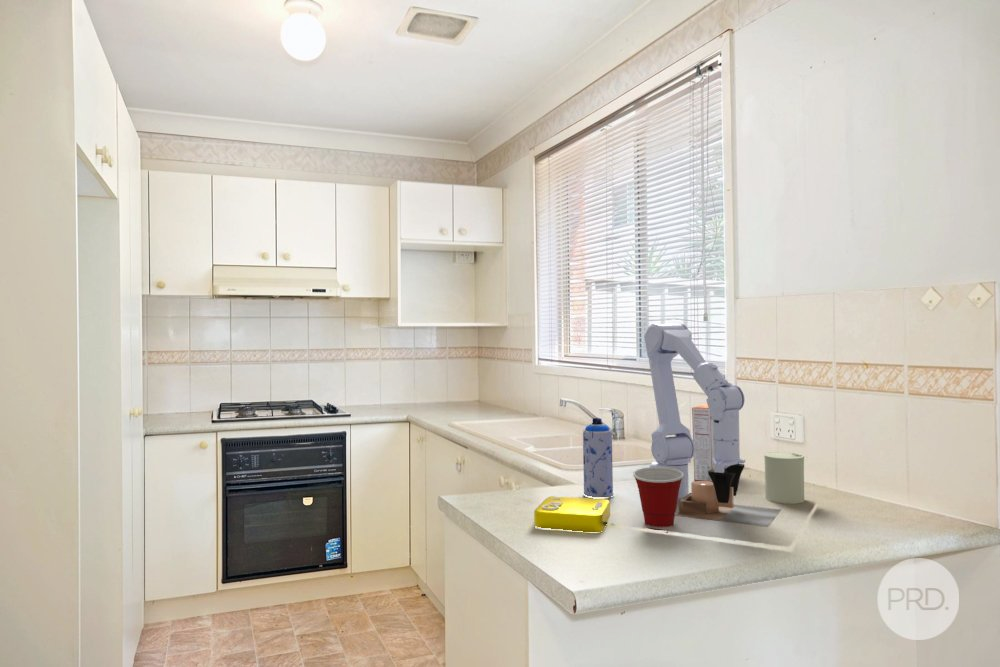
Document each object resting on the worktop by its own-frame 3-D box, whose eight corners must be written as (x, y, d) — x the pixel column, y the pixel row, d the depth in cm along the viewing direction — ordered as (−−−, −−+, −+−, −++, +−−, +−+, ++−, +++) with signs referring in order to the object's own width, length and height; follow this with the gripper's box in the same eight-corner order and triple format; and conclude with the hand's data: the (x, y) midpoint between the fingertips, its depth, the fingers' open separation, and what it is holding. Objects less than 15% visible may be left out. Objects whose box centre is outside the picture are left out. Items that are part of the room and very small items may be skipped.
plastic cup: (628, 531, 150) (627, 475, 150) (638, 518, 160) (637, 465, 160) (681, 536, 146) (680, 478, 146) (687, 522, 156) (687, 468, 156)
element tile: (601, 536, 149) (601, 513, 149) (532, 531, 153) (531, 509, 153) (611, 517, 163) (611, 497, 163) (548, 513, 167) (547, 493, 167)
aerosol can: (585, 491, 188) (584, 416, 188) (615, 492, 186) (614, 416, 186) (580, 498, 180) (579, 420, 180) (611, 499, 178) (610, 420, 178)
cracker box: (709, 472, 210) (708, 401, 210) (730, 474, 207) (728, 402, 207) (692, 480, 199) (690, 406, 199) (713, 483, 195) (712, 407, 195)
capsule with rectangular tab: (695, 505, 168) (695, 480, 168) (736, 509, 163) (735, 483, 163) (688, 511, 163) (688, 485, 163) (730, 516, 158) (729, 489, 158)
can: (809, 507, 168) (808, 456, 167) (768, 506, 169) (767, 456, 169) (800, 498, 177) (799, 450, 176) (761, 497, 178) (760, 449, 178)
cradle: (694, 503, 173) (694, 489, 173) (781, 512, 163) (780, 498, 163) (674, 518, 160) (674, 504, 160) (768, 530, 149) (767, 514, 149)
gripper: (737, 445, 153) (738, 507, 153) (751, 436, 166) (752, 494, 166) (704, 442, 157) (705, 504, 157) (720, 434, 169) (721, 491, 169)
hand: (727, 498), depth 161 cm, fingers open, 7 cm apart
